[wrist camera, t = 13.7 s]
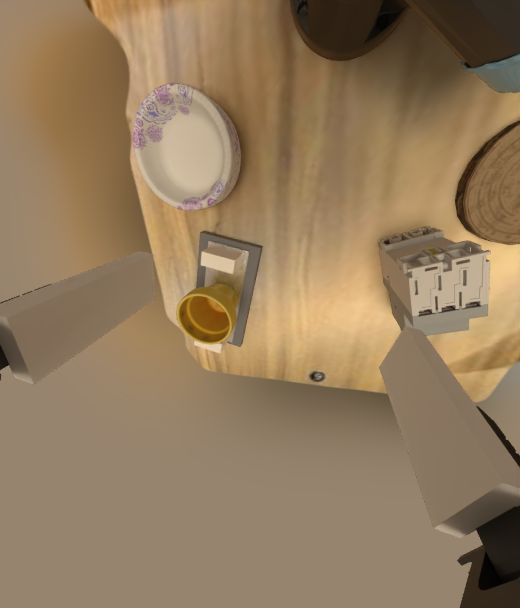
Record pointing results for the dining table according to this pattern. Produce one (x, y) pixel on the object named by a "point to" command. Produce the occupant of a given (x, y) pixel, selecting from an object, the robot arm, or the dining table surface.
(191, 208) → the paper bowls
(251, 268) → the mounting plate
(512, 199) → the wood slice
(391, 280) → the circuit breaker
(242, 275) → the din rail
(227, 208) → the dining table surface
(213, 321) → the plant pot
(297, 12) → the robot arm
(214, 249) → the mounted modules
